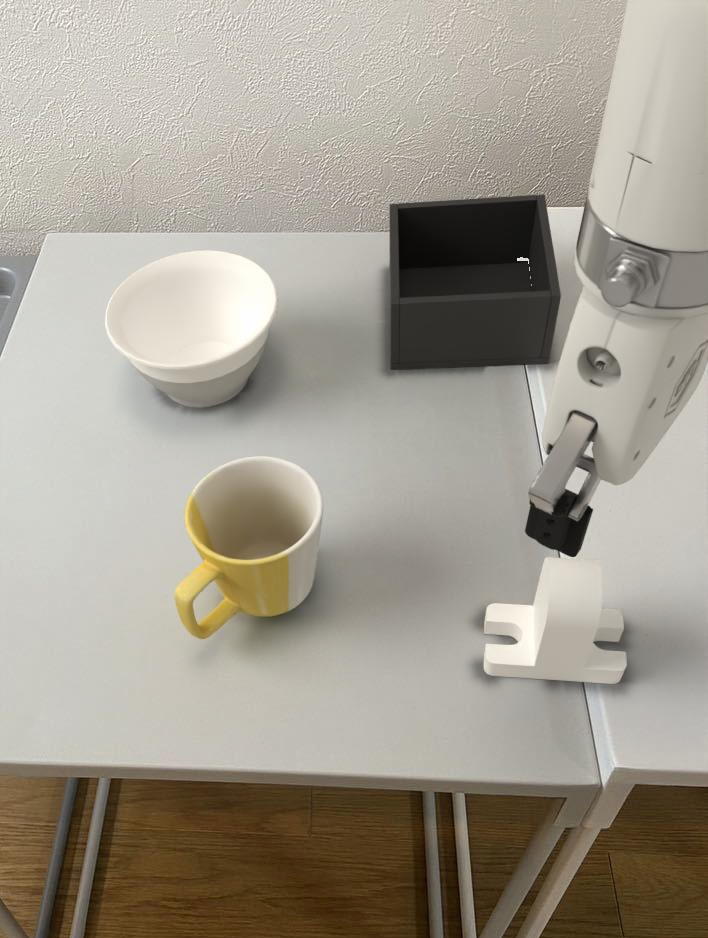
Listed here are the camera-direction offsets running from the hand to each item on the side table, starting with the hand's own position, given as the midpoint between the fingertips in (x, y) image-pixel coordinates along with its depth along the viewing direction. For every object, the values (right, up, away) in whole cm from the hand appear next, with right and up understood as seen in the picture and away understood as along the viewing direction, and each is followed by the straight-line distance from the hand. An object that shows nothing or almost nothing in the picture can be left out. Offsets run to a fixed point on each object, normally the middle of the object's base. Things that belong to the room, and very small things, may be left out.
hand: (592, 487), depth 55 cm
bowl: (-25, +15, +37) cm, 47 cm away
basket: (+1, +22, +37) cm, 43 cm away
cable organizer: (+3, -10, +16) cm, 19 cm away
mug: (-20, -7, +22) cm, 30 cm away
